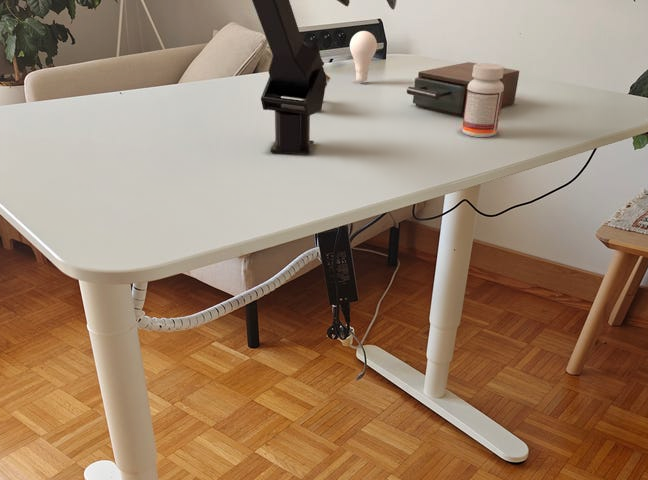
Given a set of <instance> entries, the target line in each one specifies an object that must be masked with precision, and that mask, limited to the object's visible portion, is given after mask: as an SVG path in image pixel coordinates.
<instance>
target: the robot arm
mask: <svg viewBox="0 0 648 480" xmlns="http://www.w3.org/2000/svg"><path fill="white" fill-rule="evenodd" d="M251 1H252V2H251V3H252V4H253V6H254V9H255V12H256V14H257V17H258V20H259V23H260V25H261V28H262V32H263V34H264V36H265V39H266V41H267V42H266V43H267V44H268V47H269V49H270V52H271V55H272V57H271V60H270V64H269V67H268V70H267V71H268V75H269V76H268V79H267V82H266V84H265V86H264V89H263V91H262V94H261V96H260V102H261V107H262V110H263V111H274V142H273V143H272V146H271V147H270V148H269V149H270V150H269V152H270V153H274V154H275V153H277V154H294V155H295V154H296V155H299V154H300V155H310V154H311V152H312V150H313V147H314V145H315V141H314V140H311V136H310V135H311V116H312V115H315V114H316V113H319V112H321V111H322V109H323V104H324V99H325V92H326V88H327V86H326V75H327V73H326V71H325V68H324V65H325V62H324V61H323V59H322V56H321V52H320V47H319V46H318V45H317V43H315V42H304V40H303V39H302V35H301V32H300V29H299V26H298V24H297V19H296V17H295V14H294V10H293V6H292V3H291V1H290V0H251ZM336 1H337V2H339V3H340V4H342V5H343V6H345V7H349V5H350V3H351V1H350V0H336ZM386 2H387V4H388V7H389V8H390V9H391V10H395V9H396V6H397V0H386ZM302 99H305V101H303V100H302Z"/></svg>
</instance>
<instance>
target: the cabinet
mask: <svg viewBox="0 0 648 480" xmlns="http://www.w3.org/2000/svg"><path fill="white" fill-rule="evenodd" d="M475 64H478V63H476V62H471V61H468V62H462V63H457V64H456V63H455V64H452V65H446V66H440V67H435V68H431V69H426V70H421V71H418V76H417V78H418V77H419V78H424V79H426V78H432V79H437V80H442V81H447V82H452V83H457V84H463V85H467V86H466V93H465V101H464V108H463V109H462V113H454V112H449V111H445V110H441V109H436V108H432V107H427V106H423V105H419V104H415V107H418V108H423V109H427V110H432V111H436V112H438V113H439V112H440V113H444V114H448V115H452V116H457V117H461V118H464V112H465V103H466V96H467V88H468V84H469V83H470V81H472V80H474V77H472V73H473V66H474V65H475ZM519 75H520V70H517V69H513V68H507V67H504V71H503V78H501V79H499V81H501V82H502V83H503V85H504V91H503V97H502V103H501V109H502V108H507V107H510V106H513V105H515V100H516V95H517V89H518V83H519V78H520V77H519Z"/></svg>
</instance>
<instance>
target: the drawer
mask: <svg viewBox="0 0 648 480" xmlns="http://www.w3.org/2000/svg"><path fill="white" fill-rule="evenodd" d="M466 86H467V85H463V84H457V83H452V82H447V81H442V80H437V79H432V78H426V79H424V78H419V77H418V76H417V77H414V85H413V86H408V87H407V88H406V94H407V95H410V96H412V104H414V105H416V104H419V105H423V106H427V107H432V108H436V109H441V110H445V111H449V112H454V113H462V109H463V108H464V101H465V93H466Z"/></svg>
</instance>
